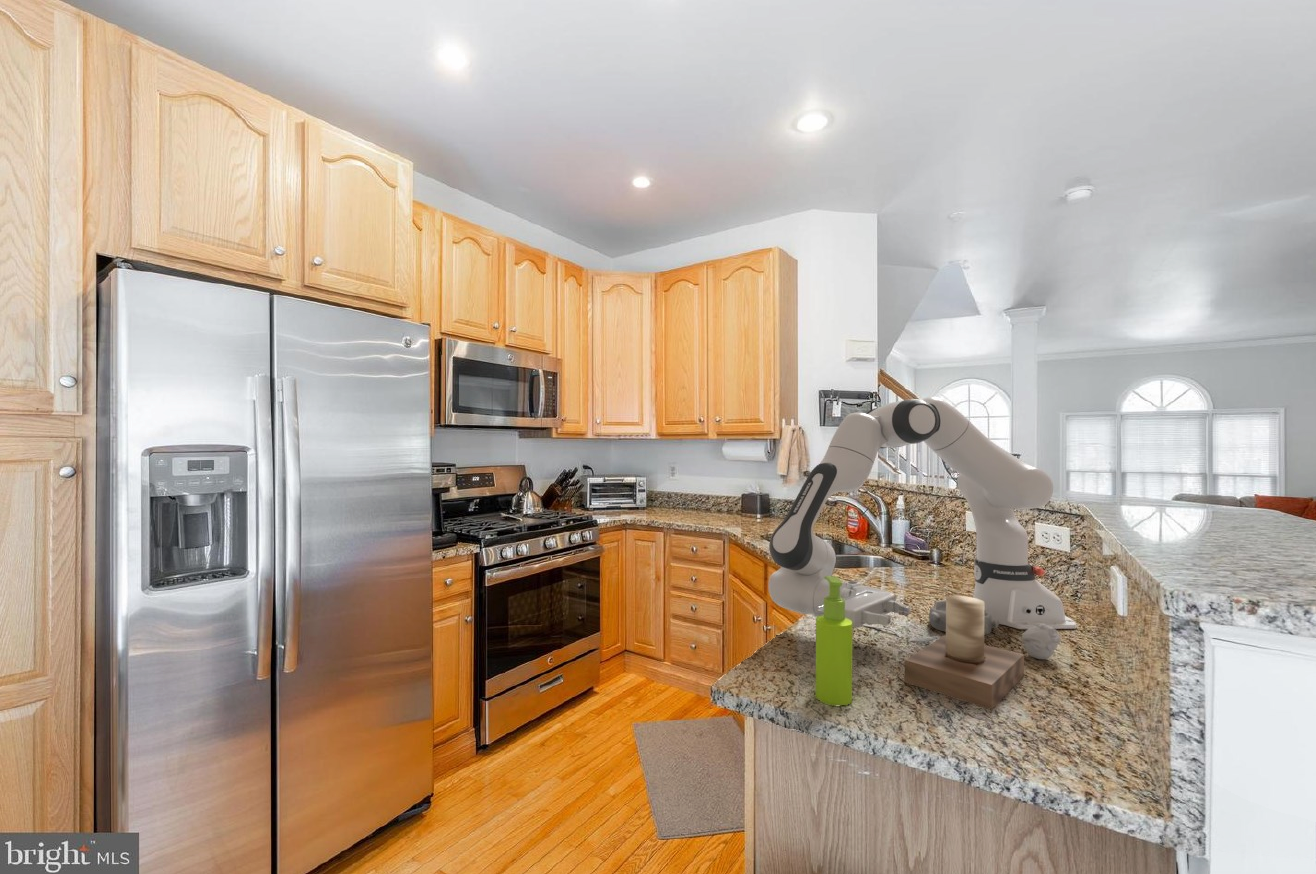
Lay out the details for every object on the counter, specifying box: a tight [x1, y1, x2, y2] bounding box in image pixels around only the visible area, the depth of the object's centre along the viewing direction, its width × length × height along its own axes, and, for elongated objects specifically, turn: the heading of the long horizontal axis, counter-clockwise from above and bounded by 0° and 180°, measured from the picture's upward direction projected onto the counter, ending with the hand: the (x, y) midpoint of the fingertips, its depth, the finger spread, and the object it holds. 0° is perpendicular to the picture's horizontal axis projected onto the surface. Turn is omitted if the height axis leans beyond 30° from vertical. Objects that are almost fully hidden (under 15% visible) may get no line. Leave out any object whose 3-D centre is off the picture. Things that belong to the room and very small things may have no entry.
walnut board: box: [904, 634, 1025, 710], centre depth 102 cm, size 20×14×4 cm
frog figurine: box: [1021, 623, 1061, 660], centre depth 112 cm, size 6×7×7 cm
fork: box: [860, 623, 938, 643], centre depth 128 cm, size 3×24×2 cm, turn 39°
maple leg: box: [945, 595, 985, 665], centre depth 102 cm, size 6×6×14 cm
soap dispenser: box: [814, 575, 854, 706], centre depth 94 cm, size 6×7×20 cm
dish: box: [928, 599, 1000, 636], centre depth 131 cm, size 14×14×5 cm
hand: (899, 616), depth 111 cm, fingers open, 8 cm apart
